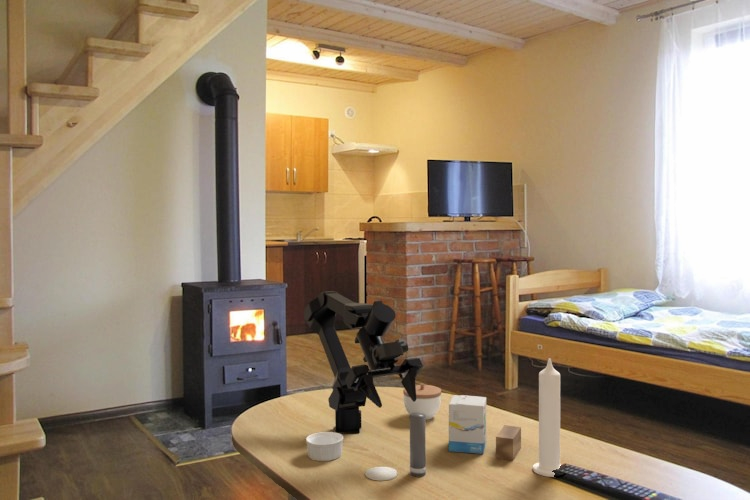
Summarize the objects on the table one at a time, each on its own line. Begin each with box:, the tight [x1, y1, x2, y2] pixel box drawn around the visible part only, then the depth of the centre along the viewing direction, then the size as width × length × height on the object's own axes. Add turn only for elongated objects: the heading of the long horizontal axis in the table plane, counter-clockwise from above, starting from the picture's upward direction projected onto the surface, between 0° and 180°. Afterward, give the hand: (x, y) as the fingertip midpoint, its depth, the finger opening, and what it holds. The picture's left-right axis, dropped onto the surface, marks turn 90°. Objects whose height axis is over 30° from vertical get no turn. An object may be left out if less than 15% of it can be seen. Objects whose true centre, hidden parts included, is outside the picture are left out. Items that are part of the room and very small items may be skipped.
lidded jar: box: [402, 383, 442, 421], centre depth 178 cm, size 11×11×9 cm
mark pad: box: [364, 466, 398, 482], centre depth 138 cm, size 7×7×1 cm
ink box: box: [448, 394, 487, 455], centre depth 154 cm, size 8×8×12 cm
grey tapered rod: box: [409, 413, 427, 478], centre depth 137 cm, size 4×4×13 cm
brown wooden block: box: [495, 425, 522, 461], centre depth 149 cm, size 4×9×5 cm, turn 156°
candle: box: [532, 357, 562, 478], centre depth 138 cm, size 7×7×25 cm
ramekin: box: [305, 431, 344, 462], centre depth 149 cm, size 9×9×4 cm
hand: (398, 403), depth 144 cm, fingers open, 9 cm apart
